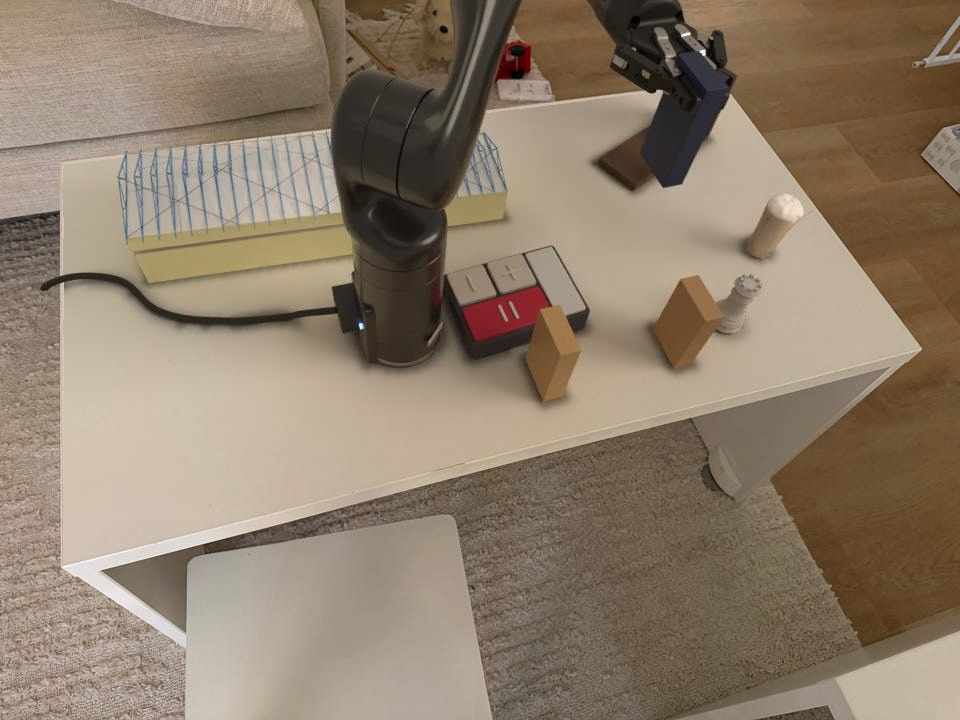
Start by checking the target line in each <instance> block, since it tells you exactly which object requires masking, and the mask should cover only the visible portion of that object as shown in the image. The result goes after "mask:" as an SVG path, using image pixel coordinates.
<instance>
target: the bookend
mask: <svg viewBox="0 0 960 720" xmlns="http://www.w3.org/2000/svg"><path fill="white" fill-rule="evenodd" d="M720 77H721V78H722V79H723V81H724V82H725V83H726V84H727V85H728V87H729V89H730V92H731V91H732V89H733V87H734V84H735V82H736V80H737V78H738V75H737V74H736V73H734V72H733V71H731V70H729V69H728V68H726V66H725V67H724V69H723V72H722V74H721V76H720ZM721 112H722V110H720V111H717V113H716V115H715V117H714V119H713V121H712V123H711V126H710V128H709V130H708V132H707V134H706V136H705V138H704V140H703V142H702V144H703V143H704V142H706V141H707V140H708V139H709V137H710V135H711V132H712V131H713V129H714V126H715V124H716V122H717V120H718V118H719V116H720V114H721ZM649 127H650V125H649V126H647V127H645V128H644V129H642V130H641V131H639V132H637V133H636V134H635V135H632V136H631V137H629V138H628V139H626V140H625V141H624V142H622V143H620V144H618V145H617V146H615V147H614V148H612V149H611V150H609V151H608V152H606V153H605V154H603V155H602V156H600V157H599V158H598V161H597V165H599V167H601V168H602V169H604V170H605V171H606V172H607V173H609V174H610V175H612V176H613V177H614V178H615V179H617V180H618V181H620V182H621V183H622V184H624V185H625V186H626V187H627V188H629V189H630V190H631V191H633V192H635V190H637V189H639V188H640V187H642V185H644V184H646V183H647V182H649V181H650V180H651V179H653V178H654V177H655V176H654V174H653V173H652V171H651V170H650V168H649V167H648V165H647V164H646V162H645V161H644V159H643V158H642V156H641V155H640V150H641V148H642V145H643V143H644V140H645V138H646V135H647V132H648V130H649Z"/></svg>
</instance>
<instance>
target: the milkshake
mask: <svg viewBox="0 0 960 720" xmlns="http://www.w3.org/2000/svg"><path fill="white" fill-rule="evenodd" d="M804 211H805V210H804V206H803V204H802V203H801V201H800V200H799V199H798V198H797V197H795V196H794V195H792V194H790V193H784V192H783V193H776V194H774V195H773V196H771V197H770V198H769V199H768V200H767V203H766V204H765V207H764V209H763V211H762V214H761V216H760V218H759V220H758V221H757V224H756V226H755V228H754V230H753V232H752V234H751V235H750V237H749V240H748V241H747V243H746V245H745V248H746V251H747V253H748V254H750V255H751V256H752V257H754V258H757V259H765V258H768V256H769V255H770V254H771V253H772V252H773V251H774V249H775V248H776V247H777V246H778V245H779V244H780V242H781V241H782V240H783V239H784V238H785V236H787V235H788V233H789V232H790V231H791V230H792V229H793V228H794V226H795V225H796V224H797V223H798V222H799V221H800V220H801V219H802V218H804V217H806V216H807V215H809V214H812V213H814V210H813V211H810V212H808V213H807V214H804V213H805V212H804Z"/></svg>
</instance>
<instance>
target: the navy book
mask: <svg viewBox="0 0 960 720" xmlns="http://www.w3.org/2000/svg"><path fill="white" fill-rule="evenodd" d="M676 62H677V64H678V65H679V67H680V69H681V70H682V74H681V76H684V75H686V77H687V78H688V79H689V80H690V82H691V83H692V84H693V86H694V87H695V88H696V89H697V91H698V92H699V93H700V95H701V96H702V103H701V106H700V108H699V110H698V112H697V114H696V115H691V116H688V115H687V113H686V112H685V111H683V110H682V109H680V108H679V106H678V105H677V104H676V102H675V101H674V100H673V98H672V97H671V95H667V94H665V93H664V92H663V91H662V94H661V97H660V99H659V101H658V104H657V106H656V109H655V111H654V115H653V117H652V119H651V122H650V125H649V126H650V127H649V130H648V132H647V135H646V138H645V140H644V143H643V145H642V148H641V150H640V155H641V156H642V158H643V159H644V161H645V162H646V164H647V165H648V167H649V168H650V170H651V171H652V173H653V174H654V177H655V179H656V180H657V182H658V184H659V185H660V186H661V188H662V189H666V188H671V187H675V186H676V187H677V186H681V185H683V184H684V181H685V179H686V177H687V176H688V173H689V171H690V169H691V167H692V165H693V162H694V161H695V159H696V157H697V155H698V152H699V150H700V148H701V146H702V144H703V143H704V142H703V140H704V138H705V136H706V134H707V132H708V130H709V128H710V126H711V123H712V121H713V119H714V117H715V115H716V113H717V111H718V109H719V107H720V105H721V103H722V101H723V99H724V97H725V95H726V93H727V90H728V88H729V87H728V85H727V84H726V83H725V82H724V81H723V79H722V78H721V77H720V76H719V74H718V73H717V72H716V71H715V70H714V68H713V67H712V66H711V65H710V63H709V62H708V61H707V60H706V58H705V57H704V56H703V55H702V54H701V52H700V51H695V52H688V53H681V54H678V55H677V58H676ZM702 142H703V143H702Z"/></svg>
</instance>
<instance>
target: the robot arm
mask: <svg viewBox="0 0 960 720" xmlns="http://www.w3.org/2000/svg"><path fill="white" fill-rule="evenodd" d="M522 1H523V0H449V6H450V12H451V13H450V14H451V20H452V30H453V52H452V58H451V64H450V69H449V74H448V76H447V79H446V83H445V85H444V87H443V89H441V90H440V89H436V88H434V87H431V86H428V85H425V84H422V83H421V82H420V83H419V82H416V81H413V80H410V79H407V78H405V77H402V76H398V75H395V74H393V73H390V72H386V71H382V70H379V69H375V68H367V69H366V68H365V69H363V70H359V71H358V72H356V73H354V74H353V75H352V76H351V77H350V78H349V79H347V81H346V82H345V84H344V85H343V87H342V88H341V90H340V92H339V94H338V97H337V99H336V102H335V105H334V109H333V113H332V118H331V129H330V133H331V156H332V164H333V170H334V176H335V181H336V186H337V191H338V196H339V201H340V207H341V212H342V218H343V223H344V226H345V228H346V230H347V232H348V233H349V235H350V236H351V243H352V252H353V254H352V261H353V270H352V271H351V275H350V276H351V282H348V283H342V284H336V285H333V286H331V292H332V299H333V302H334V303H333V304H334V306H328V307H327V306H326V307H318V308H317V307H316V308H309V309H301V310H295V311H293V312H292V311H291V312H286V313H275V314H267V315H258V316H257V315H256V316H255V315H254V316H241V317H240V316H239V317H237V316H236V317H232V316H231V317H229V316H228V317H224V316H203V315H199V316H198V315H190V314H189V315H188V314H182V313H177V312H174V311H170V310H167V309H164V308H162V307H160V306H157V305H156V304H154V303H153V302H151V301H150V300H149V299H148V298H147V297H146V296H145V295H144V293H142V291H141V290H139V288H138V287H137V286H135V284H133V283H132V282H131V281H130V280H128V279H126V278H124V277H122V276H118V275H115V274H111V273H104V272H90V271H89V272H87V271H86V272H85V271H83V272H73V273H67V274H62V275H58V276H55V277H53V278H50V279H49V280H47V281H45V282H44V283H43V284H42V285H41V286H40V287H39V291H41V292H47V291H49V290H51V288H53V287H54V286H57V285H60V284H62V283H66V282H73V281H80V280H82V281H83V280H94V281H95V280H97V281H106V282H110V283H111V282H112V283H116V284H118V285H121V286H123V287H124V288H126V289H127V290H128V291H129V292H131V294H132V295H133V296H134V297H135V298H136V299H137V300H138V301H139V302H140V303H141V304H142V305H143V306H144V307H145V308H146V309H148V310H149V311H151V312H152V313H154V314H155V315H158V316H161V317H163V318H166V319H170V320H174V321H177V322H182V323H190V324H203V325H253V324H254V325H255V324H264V323H271V322H282V321H290V320H295V319H300V318H308V317H318V316H328V315H329V316H330V315H337V318H338V321H339V326H340V330H341V333H342V334H347V333H352V332H357V331H358V332H359V339H360V343H361V345H362V347H363V351H364V354H365V358H366V362H367V363H368V364H373V363H379V364H382V365H385V366H386V367H387V366H388V367H393V368H408V367H413V366H416V365H418V364H421V363H423V362H425V361H426V360H427V359H429V358H430V357H431V356H432V355H433V354H435V351H436V350H437V349H438V346H439V344H440V340H441V332H442V331H441V329H442V328H443V325H444V321H443V320H442V308H443V307H442V306H443V297H444V295H443V283H444V275H445V267H446V255H447V245H448V244H447V243H448V232H449V231H448V229H449V226H448V220H447V214H446V211H445V209H444V208H445V207H447V206H448V205H449V204H450V203H451V202H452V200H453V199H454V197H455V195H456V194H457V192H458V190H459V188H460V186H461V184H462V182H463V180H464V177H465V175H466V172H467V170H468V167H469V164H470V161H471V158H472V155H473V152H474V149H475V145H476V142H477V139H478V136H479V133H481V129H482V126H483V123H484V118H485V115H486V112H487V108H488V105H489V102H490V98H491V95H492V92H493V88H494V85H495V82H496V79H497V75H498V71H499V68H500V64H501V61H502V58H503V55H504V52H505V49H506V46H507V43H508V39H509V38H510V34H511V31H512V28H513V26H514V23H515V20H516V17H517V14H518V12H519V10H520V8H521V6H522V5H521V4H522ZM586 1H587V3H588V4H589V5H590V7H591V9H592V10H593V12H594V15H595V17H596V19H597V20H598V22H599V23H600V25H601V26H602V27H603V29H604V30H605V32H606V33H607V34H608V36H609V37H610V38H611V40H612V41H613V43H614V44H615V48H614V52H613V55H612V58H611V62H610V65H609V68H610V69H611V70H612V71H613V72H615V73H616V74H619V75H620V76H621V77H623V78H625V79H626V80H628V81H629V82H631V83H632V84H634V85H636V86H637V87H638V88H640V89H642V90H643V91H645V92H646V93H648V94H656V93H657V92H658V91H662V93H663V92H664V93H665V94H667V95H671V97H672V98H673V100H674V101H675V102H676V104H677V105H678V106H679V108H680V109H682V110H683V111H685V112H686V113H687V115H688V116H691V115H696V114H697V112H698V110H699V108H700V106H701V103H702V96H701V95H700V93H699V92H698V91H697V89H696V88H695V87H694V86H693V84H692V83H691V82H690V80H689V79H688V78H687V77H686V75H684V76H681V74H682V70H681V69H680V67H679V65H678V64H677V62H676V58H677V55H678V54H681V53H688V52H695V51H700V52H701V54H702V55H703V56H704V57H705V58H706V60H707V61H708V62H709V63H710V65H711V66H712V67H713V68H714V70H715V71H716V72H717V73H718V74H719V76H721V74H722V72H723V69H724V67H725V68H726V66H727V64H728V61H729V60H728V55H727V48H726V43H725V42H726V41H725V36H724V32H723V31H721V30H719V29H714V30H712V32H711V34H710V35H704V34H698V33H699V32H698V31H697V29H696V28H695V27H694V26H691V25H689V24H688V23H687V22H686V21H685V17H684V13H683V12H684V11H683V7H682V5H681V3H680V1H679V0H586ZM643 71H645V72H646V73H648V74H649V77H648V78H647V77H646V76H644V75H643ZM730 96H731V91H730V89H729V88H728V90H727V93H726V95H725V97H724V99H723V101H722V103H721V105H720V107H719V109H718V111H720V110H721V111H723V110H724V109H725V107H726V105H727V104H728V101H729V99H730ZM441 320H442V321H441Z"/></svg>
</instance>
